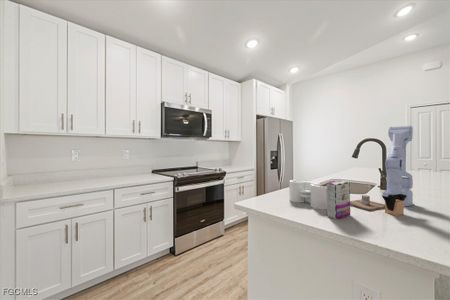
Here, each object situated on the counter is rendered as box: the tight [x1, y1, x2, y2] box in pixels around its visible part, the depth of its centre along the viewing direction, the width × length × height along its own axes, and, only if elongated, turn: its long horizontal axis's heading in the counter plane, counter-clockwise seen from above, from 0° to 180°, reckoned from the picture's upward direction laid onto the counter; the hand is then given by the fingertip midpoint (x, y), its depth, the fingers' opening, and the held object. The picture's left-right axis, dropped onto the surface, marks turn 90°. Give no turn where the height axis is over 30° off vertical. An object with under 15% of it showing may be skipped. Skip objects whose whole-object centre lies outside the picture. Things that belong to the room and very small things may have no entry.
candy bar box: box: [326, 180, 351, 220], centre depth 97 cm, size 11×5×16 cm, turn 117°
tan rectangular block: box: [384, 199, 405, 217], centre depth 100 cm, size 5×5×7 cm
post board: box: [350, 194, 385, 212], centre depth 113 cm, size 16×14×6 cm
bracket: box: [289, 179, 327, 210], centre depth 119 cm, size 25×10×12 cm, turn 34°
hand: (394, 209), depth 100 cm, fingers closed on tan rectangular block, 5 cm apart
